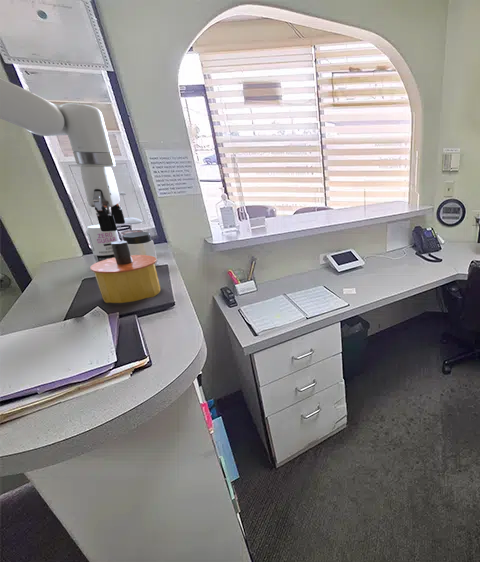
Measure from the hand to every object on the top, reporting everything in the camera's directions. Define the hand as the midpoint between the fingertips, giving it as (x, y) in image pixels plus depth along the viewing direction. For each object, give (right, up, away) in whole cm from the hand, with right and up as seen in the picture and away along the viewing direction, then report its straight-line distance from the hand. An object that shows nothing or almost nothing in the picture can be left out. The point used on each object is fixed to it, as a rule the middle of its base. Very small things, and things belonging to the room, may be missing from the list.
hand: (114, 227), depth 84 cm
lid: (0, -10, +4) cm, 11 cm away
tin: (-1, -19, +8) cm, 20 cm away
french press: (-26, -4, +41) cm, 49 cm away
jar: (-14, -9, +30) cm, 35 cm away
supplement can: (-25, -10, +28) cm, 39 cm away
